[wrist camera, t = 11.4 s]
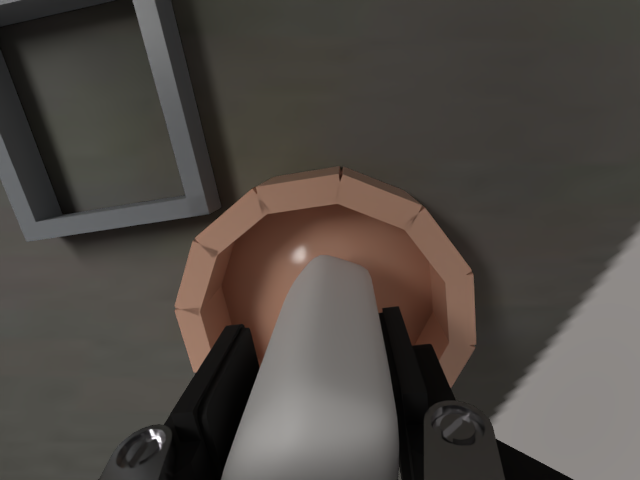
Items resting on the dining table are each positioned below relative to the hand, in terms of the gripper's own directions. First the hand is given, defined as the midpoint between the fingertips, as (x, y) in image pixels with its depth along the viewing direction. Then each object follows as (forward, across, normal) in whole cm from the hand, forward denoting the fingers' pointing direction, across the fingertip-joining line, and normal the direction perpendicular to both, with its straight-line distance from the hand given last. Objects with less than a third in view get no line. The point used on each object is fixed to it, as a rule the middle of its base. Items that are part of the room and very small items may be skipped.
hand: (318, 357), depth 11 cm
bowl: (+6, 0, 0) cm, 6 cm away
